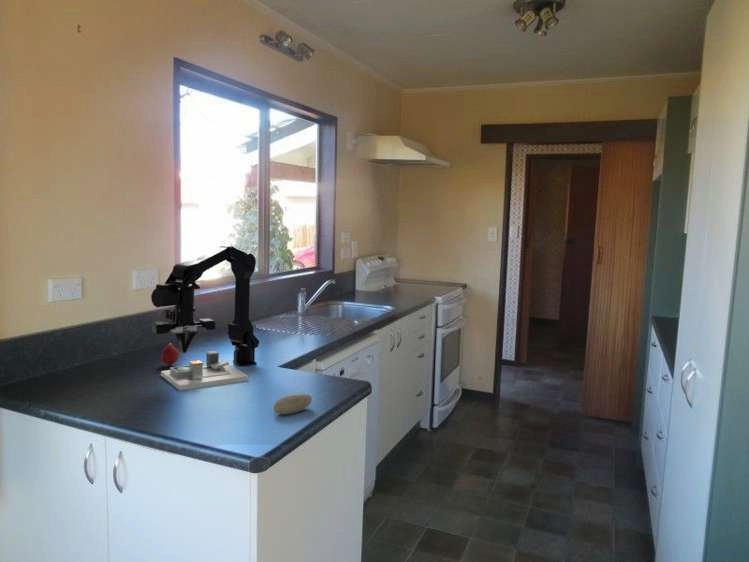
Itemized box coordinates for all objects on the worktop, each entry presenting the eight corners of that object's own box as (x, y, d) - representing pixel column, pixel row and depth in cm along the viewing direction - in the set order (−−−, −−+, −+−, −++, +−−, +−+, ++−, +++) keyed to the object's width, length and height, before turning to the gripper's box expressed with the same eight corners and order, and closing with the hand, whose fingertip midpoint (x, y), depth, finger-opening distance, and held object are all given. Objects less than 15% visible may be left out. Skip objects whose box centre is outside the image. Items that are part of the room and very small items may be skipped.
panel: (225, 367, 198) (225, 357, 197) (247, 380, 184) (248, 369, 183) (161, 375, 185) (161, 364, 184) (179, 390, 170) (179, 379, 170)
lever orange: (199, 375, 180) (199, 360, 180) (202, 378, 178) (203, 362, 177) (189, 377, 178) (189, 361, 178) (192, 379, 176) (192, 363, 175)
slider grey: (215, 364, 194) (215, 350, 193) (218, 367, 191) (218, 352, 191) (205, 366, 192) (206, 351, 191) (209, 368, 189) (209, 353, 189)
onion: (172, 369, 193) (172, 345, 192) (157, 367, 194) (157, 344, 193) (181, 364, 198) (182, 342, 197) (166, 363, 199) (167, 340, 199)
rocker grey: (224, 361, 192) (224, 359, 192) (229, 364, 189) (228, 362, 189) (210, 366, 189) (210, 364, 189) (214, 369, 186) (214, 367, 186)
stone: (266, 405, 153) (295, 383, 162) (275, 426, 154) (304, 403, 163) (279, 403, 149) (308, 381, 159) (289, 424, 150) (317, 401, 159)
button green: (188, 371, 184) (188, 366, 184) (193, 374, 181) (193, 369, 181) (175, 372, 182) (175, 367, 182) (179, 376, 178) (179, 371, 178)
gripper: (204, 299, 191) (203, 344, 192) (146, 301, 179) (146, 350, 181) (217, 303, 182) (216, 351, 184) (157, 307, 171) (156, 358, 172)
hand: (184, 352), depth 180 cm, fingers closed
